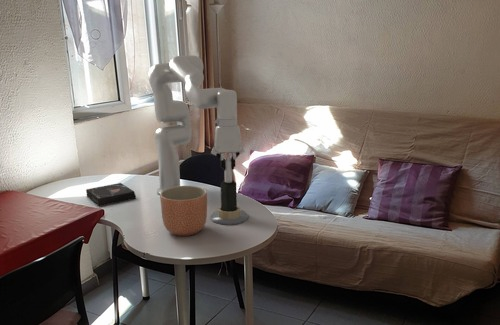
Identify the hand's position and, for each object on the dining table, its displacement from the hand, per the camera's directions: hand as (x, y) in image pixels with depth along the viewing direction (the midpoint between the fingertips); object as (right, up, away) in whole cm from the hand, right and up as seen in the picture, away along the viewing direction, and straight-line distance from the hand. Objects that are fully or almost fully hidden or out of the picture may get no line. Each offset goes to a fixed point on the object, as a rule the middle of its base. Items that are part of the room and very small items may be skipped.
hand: (228, 168), depth 175 cm
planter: (-16, -24, -7) cm, 29 cm away
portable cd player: (-55, -14, +30) cm, 65 cm away
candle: (0, -18, +5) cm, 19 cm away
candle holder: (0, -20, +5) cm, 21 cm away
